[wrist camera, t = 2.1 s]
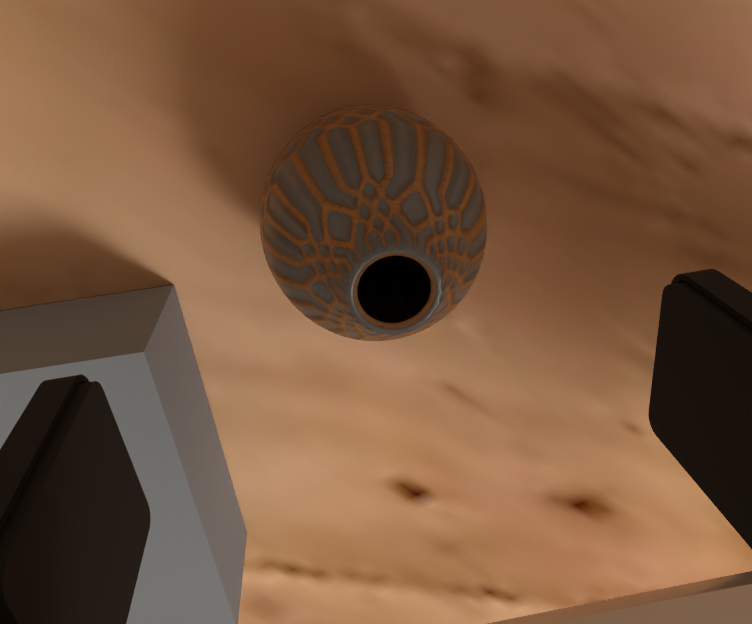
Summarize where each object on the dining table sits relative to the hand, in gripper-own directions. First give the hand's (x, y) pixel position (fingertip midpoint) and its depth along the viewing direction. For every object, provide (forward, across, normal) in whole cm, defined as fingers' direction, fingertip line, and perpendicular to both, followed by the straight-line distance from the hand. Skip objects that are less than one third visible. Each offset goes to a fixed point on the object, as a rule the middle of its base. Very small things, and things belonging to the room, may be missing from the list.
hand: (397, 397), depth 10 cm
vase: (+14, -1, +1) cm, 14 cm away
